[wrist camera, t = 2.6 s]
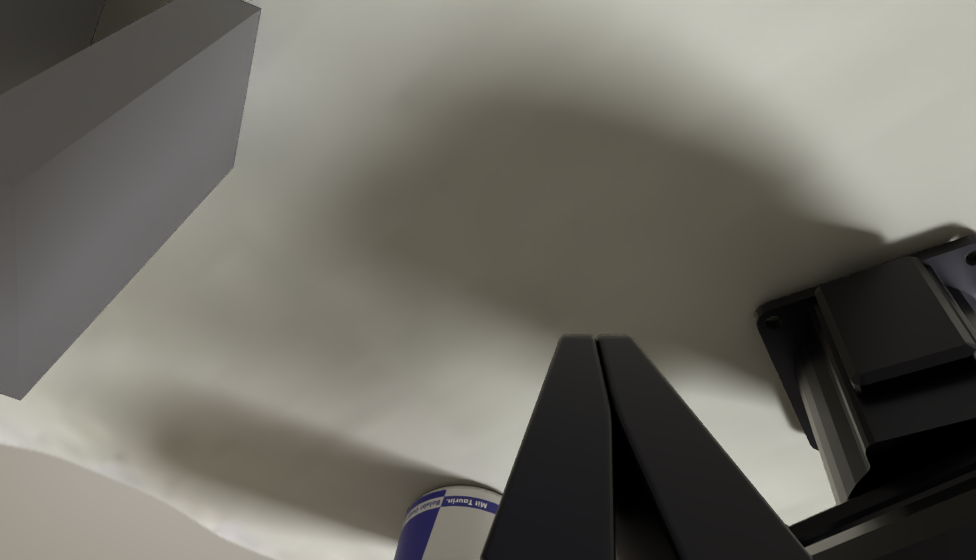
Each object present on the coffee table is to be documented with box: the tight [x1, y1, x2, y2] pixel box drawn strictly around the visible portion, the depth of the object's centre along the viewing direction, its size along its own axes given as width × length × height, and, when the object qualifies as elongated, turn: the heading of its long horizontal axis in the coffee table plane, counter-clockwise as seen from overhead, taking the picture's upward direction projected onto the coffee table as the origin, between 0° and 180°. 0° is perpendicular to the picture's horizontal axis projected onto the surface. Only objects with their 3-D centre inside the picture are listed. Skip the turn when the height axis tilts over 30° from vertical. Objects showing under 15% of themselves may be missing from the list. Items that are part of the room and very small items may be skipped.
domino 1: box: [0, 0, 261, 400], centre depth 16 cm, size 2×5×10 cm, turn 160°
